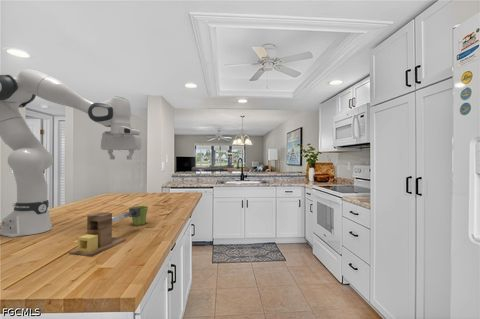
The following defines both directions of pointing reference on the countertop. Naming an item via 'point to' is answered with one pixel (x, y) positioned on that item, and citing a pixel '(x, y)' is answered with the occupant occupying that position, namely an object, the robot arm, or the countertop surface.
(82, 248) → the block
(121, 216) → the shaft
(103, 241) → the stand
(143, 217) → the plant pot
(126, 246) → the countertop surface
